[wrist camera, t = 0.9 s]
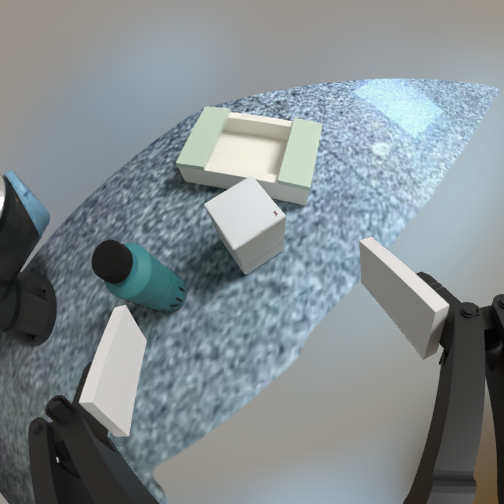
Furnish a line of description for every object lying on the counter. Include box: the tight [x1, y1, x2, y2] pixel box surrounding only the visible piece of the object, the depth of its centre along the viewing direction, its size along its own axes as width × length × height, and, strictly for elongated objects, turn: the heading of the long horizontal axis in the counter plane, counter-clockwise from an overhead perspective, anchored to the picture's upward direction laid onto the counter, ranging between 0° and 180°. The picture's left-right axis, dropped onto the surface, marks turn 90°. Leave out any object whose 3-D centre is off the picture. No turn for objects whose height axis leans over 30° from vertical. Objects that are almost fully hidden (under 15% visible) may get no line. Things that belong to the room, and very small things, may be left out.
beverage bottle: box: [92, 240, 187, 314], centre depth 33 cm, size 6×7×20 cm
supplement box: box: [204, 176, 286, 275], centre depth 39 cm, size 7×7×13 cm
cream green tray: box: [176, 107, 322, 206], centre depth 47 cm, size 22×14×6 cm, turn 75°
